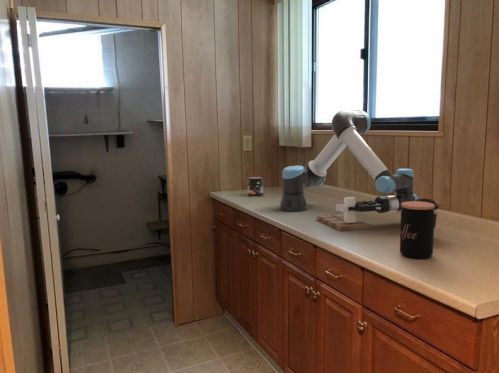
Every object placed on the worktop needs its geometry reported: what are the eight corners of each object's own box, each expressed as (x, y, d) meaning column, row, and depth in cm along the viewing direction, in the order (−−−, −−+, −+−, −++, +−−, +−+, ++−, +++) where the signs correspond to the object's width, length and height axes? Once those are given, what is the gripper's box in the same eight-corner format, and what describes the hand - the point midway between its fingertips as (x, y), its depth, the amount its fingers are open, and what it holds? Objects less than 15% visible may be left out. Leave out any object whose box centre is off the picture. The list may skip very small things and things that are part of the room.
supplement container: (244, 195, 275) (244, 178, 273) (256, 193, 282) (255, 176, 280) (255, 197, 267) (255, 179, 266) (266, 195, 274) (266, 177, 273)
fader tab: (343, 221, 184) (344, 197, 183) (351, 221, 185) (352, 196, 184) (347, 223, 182) (347, 198, 180) (355, 222, 183) (355, 197, 181)
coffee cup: (440, 240, 160) (441, 202, 158) (413, 239, 162) (414, 202, 160) (434, 233, 170) (435, 197, 168) (408, 233, 172) (409, 197, 170)
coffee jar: (394, 251, 148) (395, 201, 145) (423, 249, 149) (424, 200, 146) (408, 260, 138) (409, 207, 135) (438, 259, 138) (441, 206, 136)
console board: (317, 219, 200) (317, 215, 200) (343, 217, 204) (343, 213, 203) (340, 231, 177) (340, 226, 177) (369, 228, 181) (369, 223, 180)
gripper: (396, 216, 180) (347, 220, 174) (375, 209, 195) (330, 213, 189) (396, 199, 179) (347, 203, 173) (376, 193, 194) (330, 197, 188)
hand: (338, 208), depth 181 cm, fingers closed on fader tab, 3 cm apart
